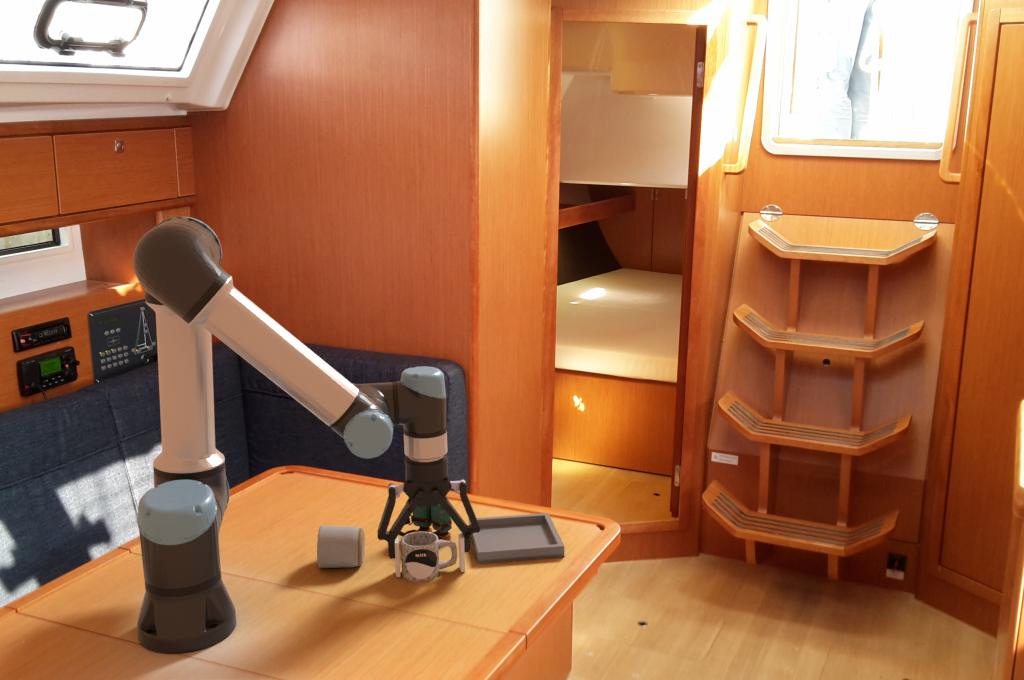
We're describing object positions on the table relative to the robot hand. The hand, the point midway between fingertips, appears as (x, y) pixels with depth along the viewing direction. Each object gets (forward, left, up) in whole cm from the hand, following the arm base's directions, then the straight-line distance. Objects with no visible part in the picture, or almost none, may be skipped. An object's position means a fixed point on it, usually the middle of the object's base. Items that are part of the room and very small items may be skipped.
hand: (430, 571), depth 185 cm
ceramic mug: (-16, +7, 0) cm, 18 cm away
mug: (0, 0, 0) cm, 0 cm away
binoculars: (0, +13, 0) cm, 13 cm away
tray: (+17, +10, 0) cm, 20 cm away
